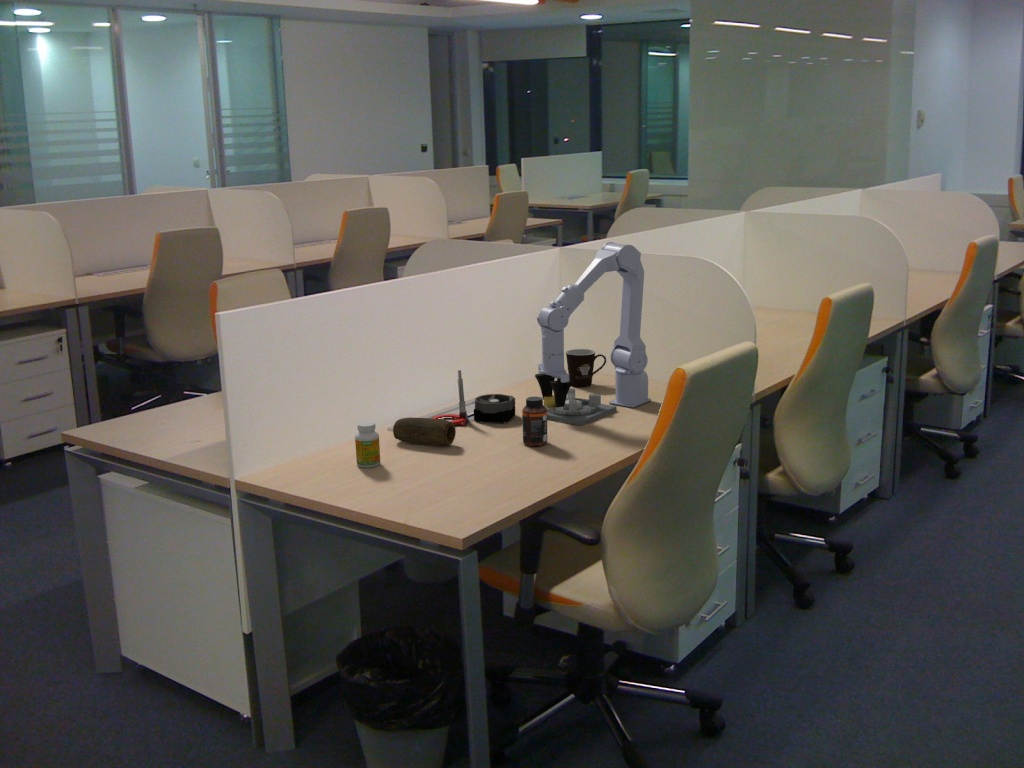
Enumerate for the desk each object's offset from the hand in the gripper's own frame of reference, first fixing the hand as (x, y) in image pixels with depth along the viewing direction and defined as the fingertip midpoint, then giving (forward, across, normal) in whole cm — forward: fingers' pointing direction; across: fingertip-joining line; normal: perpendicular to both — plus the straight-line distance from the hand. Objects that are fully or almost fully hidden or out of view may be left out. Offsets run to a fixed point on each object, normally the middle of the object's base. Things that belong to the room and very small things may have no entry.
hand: (553, 403), depth 262 cm
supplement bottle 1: (+4, +17, -55) cm, 57 cm away
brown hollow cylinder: (+4, +8, -38) cm, 39 cm away
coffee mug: (+4, -25, +23) cm, 34 cm away
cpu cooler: (+4, -5, -15) cm, 16 cm away
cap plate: (+3, 0, +5) cm, 6 cm away
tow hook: (+4, -8, -27) cm, 28 cm away
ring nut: (+2, 0, +5) cm, 6 cm away
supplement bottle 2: (+4, +20, -15) cm, 25 cm away
